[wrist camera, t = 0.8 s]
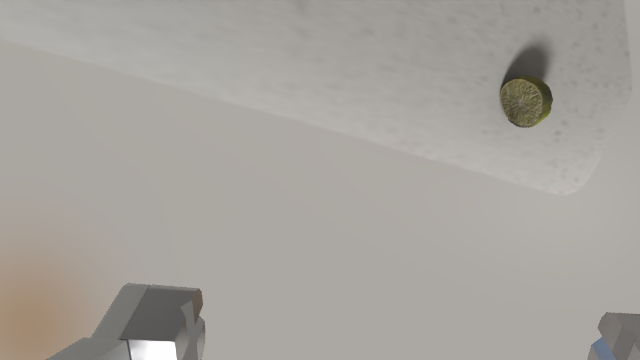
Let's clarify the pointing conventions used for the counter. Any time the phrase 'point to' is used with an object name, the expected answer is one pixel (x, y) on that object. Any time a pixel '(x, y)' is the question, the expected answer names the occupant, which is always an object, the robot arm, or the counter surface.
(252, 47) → the counter surface
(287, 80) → the counter surface
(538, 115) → the lime
